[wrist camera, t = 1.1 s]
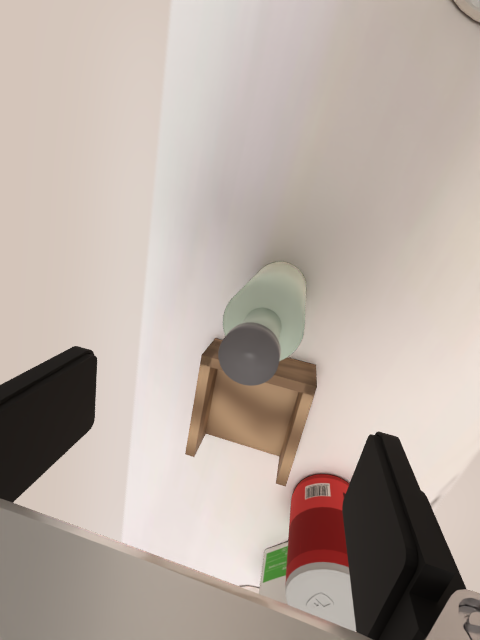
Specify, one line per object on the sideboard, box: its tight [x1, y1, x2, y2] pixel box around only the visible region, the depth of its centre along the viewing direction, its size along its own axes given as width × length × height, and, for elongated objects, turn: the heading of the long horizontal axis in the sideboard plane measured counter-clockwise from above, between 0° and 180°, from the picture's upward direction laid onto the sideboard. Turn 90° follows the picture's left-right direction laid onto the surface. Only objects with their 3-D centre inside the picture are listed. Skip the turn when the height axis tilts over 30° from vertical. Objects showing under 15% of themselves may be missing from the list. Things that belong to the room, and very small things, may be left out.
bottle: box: [218, 262, 306, 386], centre depth 23 cm, size 5×5×17 cm
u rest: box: [185, 338, 317, 486], centre depth 33 cm, size 12×11×5 cm
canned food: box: [285, 474, 356, 631], centre depth 32 cm, size 8×8×11 cm
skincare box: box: [259, 542, 288, 605], centre depth 34 cm, size 8×7×16 cm
